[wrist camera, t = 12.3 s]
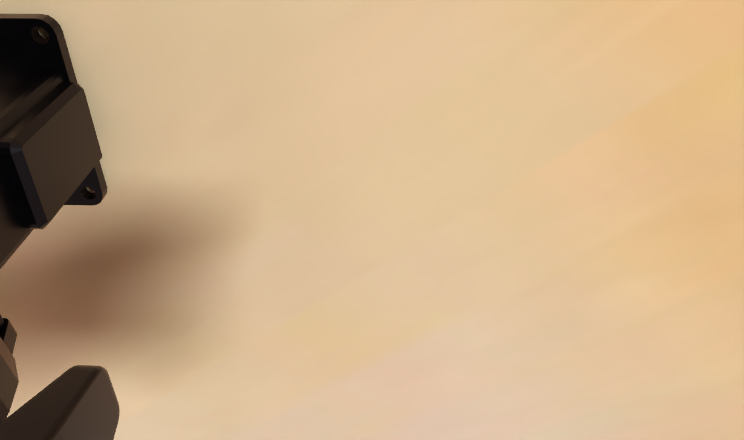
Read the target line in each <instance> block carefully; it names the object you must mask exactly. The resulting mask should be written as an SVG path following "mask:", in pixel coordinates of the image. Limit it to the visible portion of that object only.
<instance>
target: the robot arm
mask: <svg viewBox="0 0 744 440" xmlns="http://www.w3.org/2000/svg"><path fill="white" fill-rule="evenodd" d="M38 27H41V28H43V29H44V30H46V32H47V33H48V35H49V39H46V38H43V37H42V36H41V35H40V34H39V32H38ZM101 158H102V153H101V150H100V146H99V143H98V139H97V135H96V132H95V128H94V125H93V121H92V118H91V114H90V110H89V107H88V103H87V100H86V96H85V93H84V90H83V88H82V87H81V86H80V85H79V84H78V83H77V80H76V77H75V73H74V69H73V66H72V62H71V59H70V55H69V52H68V48H67V45H66V41H65V38H64V34H63V31H62V29H61V27H60V25H59V24H58V22H57V21H56V20H55V19H53V18H52V17H50V16H48V15H43V14H0V269H1V268H2V266H3V265H4V264H5V263H6V262H7V260H8V259H9V258H10V257H11V256H12V254H13V253H14V252H15V251H16V250H17V248H18V247H19V246H20V245H21V244H22V242H23V241H24V240H25V239H26V238H27V236H28V235H29V234H30V233H31V232H32V230H33V229H43V228H45V227H46V226H47V225H48V223H49V222H50V221H51V220H52V219H53V217H54V216H55V215H56V214H57V212H58V211H59V210H60V209H61V207H62V206H63V205H97V204H99V203H100V202H101V201H102V200H103V198H104V197H105V195H106V193H107V186H106V182H105V179H104V175H103V172H102V168H101V164H100V161H99V160H100V159H101ZM86 187H90V188H91V189H93V190H94V191H95V193H91V192H90V191H88V190H87V188H86ZM16 337H17V333H16V331H15V330H14V328H13V326H12V325H11V323H10V322H9V320H8V319H7V318H2V317H1V315H0V440H113V439H114V435H115V432H116V428H117V424H118V420H119V404H118V401H117V398H116V395H115V392H114V389H113V386H112V383H111V381H110V378H109V375H108V372H107V370H106V369H105V368H103V367H101V366H84V365H78V366H74V367H72V368H70V369H68V370H67V371H66V372H65V373H63V374H62V375H61V376H60V377H58V378H57V379H56V380H54V381H53V382H52V383H51V384H49V385H48V386H47V387H46V388H44V389H43V390H42V391H41V392H39V393H38V394H37V395H36V396H34V397H33V398H32V399H30V400H29V401H28V402H27V403H25V404H24V405H23V406H22V407H20V408H19V409H18V410H17V411H15V412H14V413H13V414H12V415H10V416H9V417H8V418H7V415H8V413H9V411H10V408H11V405H12V401H13V398H14V395H15V392H16V388H17V385H18V382H19V381H18V375H17V369H16V364H15V359H14V357H13V356H12V353H13V349H14V345H15V341H16Z"/></svg>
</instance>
